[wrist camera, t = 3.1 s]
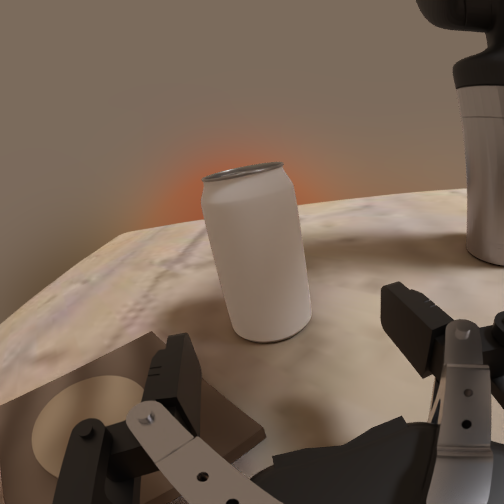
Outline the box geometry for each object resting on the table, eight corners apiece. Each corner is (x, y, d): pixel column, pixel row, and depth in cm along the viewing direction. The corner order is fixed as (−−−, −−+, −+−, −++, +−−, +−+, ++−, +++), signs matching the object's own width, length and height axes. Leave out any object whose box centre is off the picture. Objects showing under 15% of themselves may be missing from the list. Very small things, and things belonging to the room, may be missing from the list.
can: (264, 358, 20) (224, 180, 16) (219, 323, 25) (181, 182, 21) (329, 315, 23) (309, 158, 19) (278, 292, 28) (253, 163, 24)
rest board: (155, 340, 24) (150, 327, 24) (266, 437, 14) (261, 422, 13) (5, 414, 15) (-4, 402, 15) (29, 557, 5) (10, 547, 4)
